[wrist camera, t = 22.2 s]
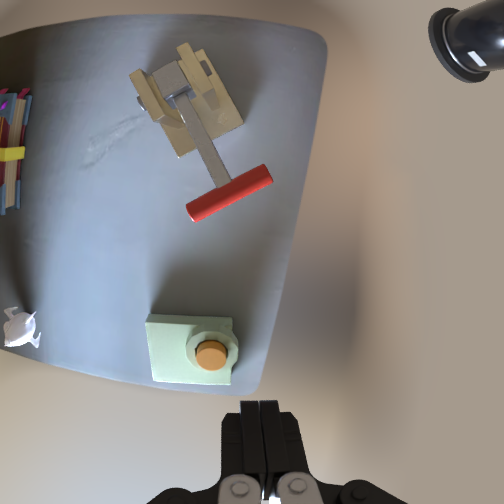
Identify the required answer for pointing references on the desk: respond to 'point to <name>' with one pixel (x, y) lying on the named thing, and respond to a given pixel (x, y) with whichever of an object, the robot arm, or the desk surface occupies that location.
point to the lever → (206, 147)
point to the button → (211, 355)
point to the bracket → (206, 103)
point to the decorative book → (12, 145)
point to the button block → (188, 347)
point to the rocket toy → (20, 328)
